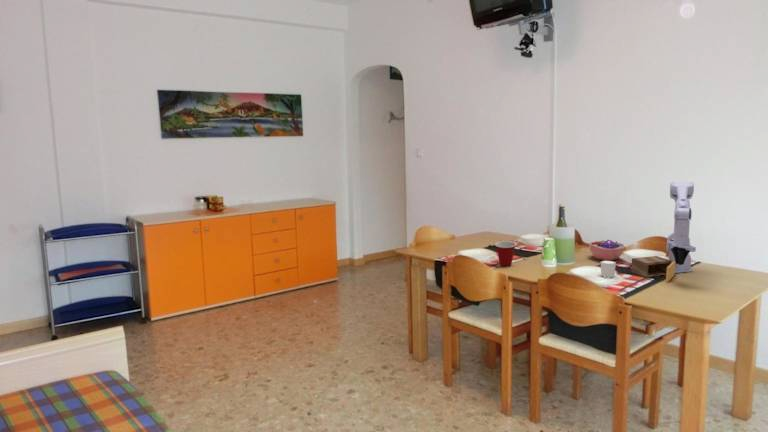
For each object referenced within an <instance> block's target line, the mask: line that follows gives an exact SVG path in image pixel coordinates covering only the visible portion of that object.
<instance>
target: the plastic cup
mask: <svg viewBox="0 0 768 432" xmlns="http://www.w3.org/2000/svg"><path fill="white" fill-rule="evenodd" d="M516 246H517V243H516V242H513V241H509V240H507V241H506V240H505V241H498V242H496V243H495V247H496V250H497V257H498V261H499V262H498V263H499V265H500V267H503V268H505V267H507V268H508V267H511V266H512V264H513V258H514V252H515V250H516V249H515V248H516Z"/></svg>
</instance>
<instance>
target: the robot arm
mask: <svg viewBox="0 0 768 432" xmlns="http://www.w3.org/2000/svg"><path fill="white" fill-rule="evenodd" d="M669 185H670V186H669V197H670V199H673V200H674V202H675V205H674V210H673V211H674V212H673V213H674V214H673V215H674V216H673V218H674V221H673V222H674V223H673V225H674V227H673V233H671V234H669V235H668V236H667V237H666V238H667V240H666V251H667V252H668V260H671V263H672V262H673V261H675V262H676V267H675V274H677V273H678V274H680V273H689V272H692V270H691V267H692V257H691V255H690V252H691V253H693V252H696V250H697V249H696V247H695V246H694V245H691V243H690V242H691V241H690V237H689V236H690V224H691V223H690V222H691V220H692V214H693V213H692V212H693V211H692V207H691V203H690V199H692V197H693V195H694V190H695V183H694V181H693V182H692V181H691V182H687V181H686V182H685V181H671V182H670V184H669Z"/></svg>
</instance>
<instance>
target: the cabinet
mask: <svg viewBox="0 0 768 432" xmlns="http://www.w3.org/2000/svg"><path fill="white" fill-rule="evenodd" d="M670 264H671V260H669V258H668V259H667V258H664V257H660V256H657V255H654V256H645V257H644V256H642V257H641V256H640V257H633V258H631V270H630V271H631V273H633V274H636V275H638V276H640V277H644V278H654V277H653V276H655V277H661V276H660V275H664V276H666V272H667V267H668V266H669V265H670Z"/></svg>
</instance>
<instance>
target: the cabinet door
mask: <svg viewBox="0 0 768 432" xmlns="http://www.w3.org/2000/svg"><path fill="white" fill-rule="evenodd" d="M675 267H676V262H675V261H673V262H672V263H671V264H670V265H669V266H668V267H667V272H666V275H665V282H667V283H668V282H669V281H670V280H672V278H673V277H674V276H676V273H675Z"/></svg>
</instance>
